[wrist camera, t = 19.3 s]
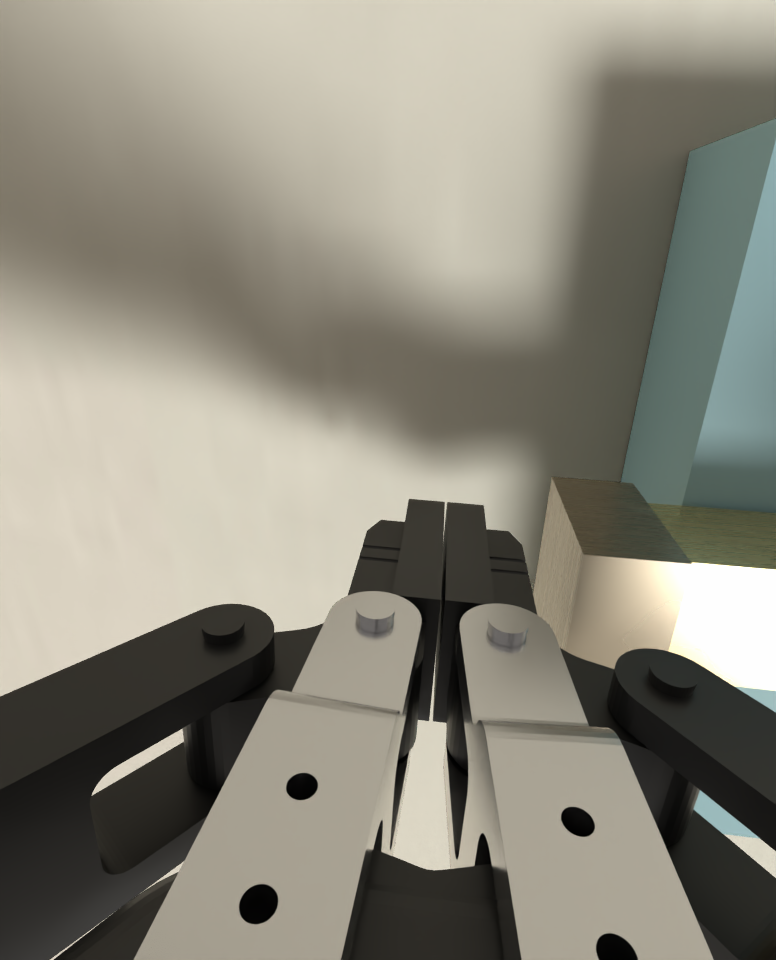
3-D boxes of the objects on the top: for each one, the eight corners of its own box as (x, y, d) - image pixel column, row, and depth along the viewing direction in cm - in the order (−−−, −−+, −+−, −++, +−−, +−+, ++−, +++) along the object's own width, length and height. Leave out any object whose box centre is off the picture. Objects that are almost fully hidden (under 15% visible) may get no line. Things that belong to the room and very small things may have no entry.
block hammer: (552, 477, 12) (583, 554, 9) (954, 508, 11) (1130, 602, 8) (530, 609, 13) (552, 716, 10) (892, 644, 12) (1027, 769, 10)
